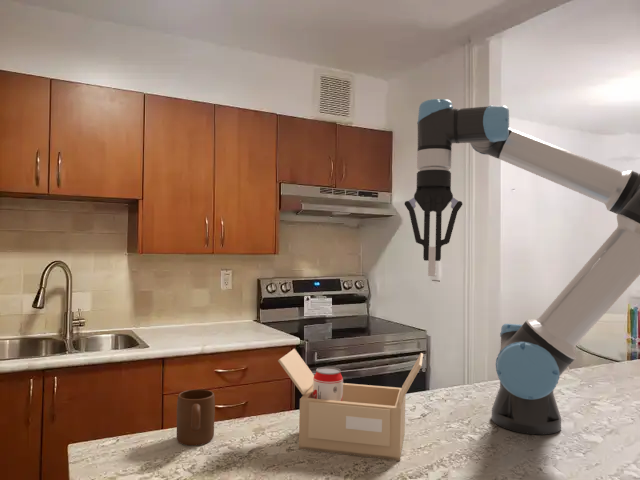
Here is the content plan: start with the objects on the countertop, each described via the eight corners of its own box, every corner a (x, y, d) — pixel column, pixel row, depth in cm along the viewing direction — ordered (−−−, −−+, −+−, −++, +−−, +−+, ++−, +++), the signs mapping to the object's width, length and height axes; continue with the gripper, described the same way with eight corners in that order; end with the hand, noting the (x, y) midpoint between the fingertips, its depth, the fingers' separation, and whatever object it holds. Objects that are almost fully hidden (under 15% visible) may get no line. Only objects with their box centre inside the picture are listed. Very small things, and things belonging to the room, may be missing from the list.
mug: (215, 454, 100) (216, 405, 100) (174, 457, 98) (175, 407, 98) (213, 431, 111) (214, 388, 111) (177, 433, 110) (177, 389, 110)
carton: (404, 433, 112) (405, 387, 112) (399, 462, 98) (400, 409, 98) (315, 424, 117) (316, 380, 117) (298, 450, 102) (299, 400, 102)
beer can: (344, 442, 110) (346, 367, 109) (337, 454, 104) (340, 375, 103) (315, 438, 111) (317, 365, 111) (307, 450, 105) (309, 372, 105)
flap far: (304, 393, 104) (302, 395, 104) (317, 379, 115) (315, 380, 115) (279, 359, 105) (277, 360, 105) (294, 348, 116) (292, 349, 116)
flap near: (402, 386, 111) (404, 387, 110) (398, 402, 100) (400, 403, 100) (421, 352, 110) (423, 353, 110) (419, 364, 99) (421, 365, 99)
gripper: (463, 172, 118) (461, 275, 118) (405, 173, 121) (403, 273, 121) (464, 167, 110) (462, 277, 110) (403, 168, 113) (401, 275, 113)
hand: (431, 275), depth 116 cm, fingers closed
